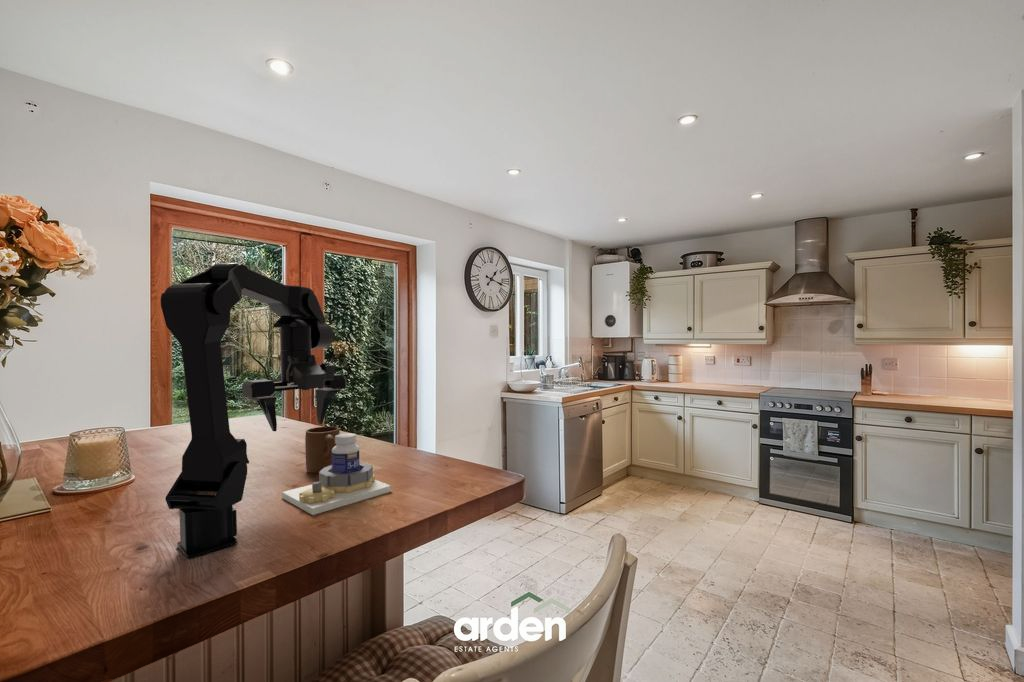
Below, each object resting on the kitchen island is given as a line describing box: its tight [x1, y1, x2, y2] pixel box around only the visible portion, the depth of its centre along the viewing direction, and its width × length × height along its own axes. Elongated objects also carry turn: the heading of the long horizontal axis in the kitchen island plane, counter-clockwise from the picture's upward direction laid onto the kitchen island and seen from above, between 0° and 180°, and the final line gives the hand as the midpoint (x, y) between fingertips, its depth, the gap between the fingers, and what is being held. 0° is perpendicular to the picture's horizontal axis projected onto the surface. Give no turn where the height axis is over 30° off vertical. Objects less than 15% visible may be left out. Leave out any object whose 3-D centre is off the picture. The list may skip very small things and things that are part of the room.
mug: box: [304, 426, 341, 474], centre depth 110 cm, size 12×8×9 cm, turn 35°
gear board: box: [281, 461, 392, 516], centre depth 94 cm, size 16×13×4 cm
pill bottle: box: [332, 432, 360, 474], centre depth 96 cm, size 5×5×9 cm
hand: (298, 427), depth 96 cm, fingers open, 9 cm apart
